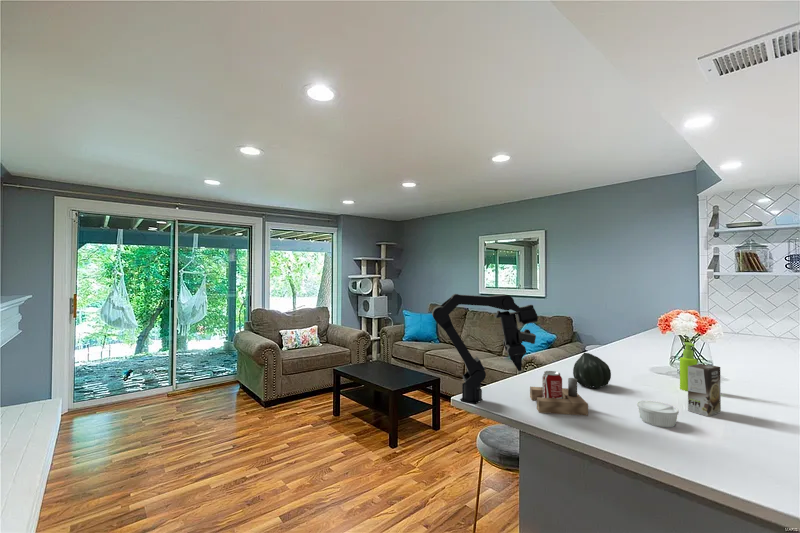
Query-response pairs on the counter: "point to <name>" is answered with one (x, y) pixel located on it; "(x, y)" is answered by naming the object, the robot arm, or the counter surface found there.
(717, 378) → the coffee box
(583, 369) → the squash
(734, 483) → the counter surface
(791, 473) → the counter surface
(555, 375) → the soda can
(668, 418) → the ramekin
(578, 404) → the peg board
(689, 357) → the soap dispenser
